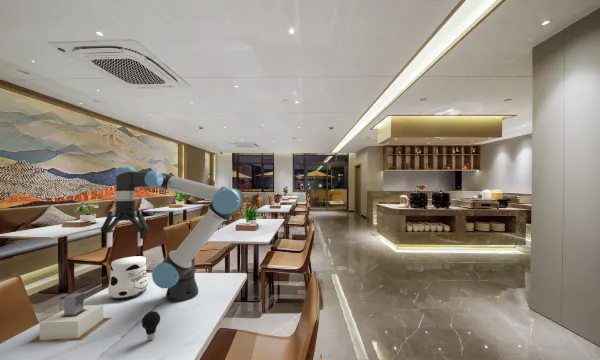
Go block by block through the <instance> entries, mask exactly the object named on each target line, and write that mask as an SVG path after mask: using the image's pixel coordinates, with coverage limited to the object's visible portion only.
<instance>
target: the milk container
mask: <svg viewBox="0 0 600 360" xmlns="http://www.w3.org/2000/svg"><path fill="white" fill-rule="evenodd" d="M148 279H149V278H148V276H147V258H146V257H145V256H142V255H141V256H140V255H139V256H137V255H136V256H127V257H122V258H118V259H115V260H112V261H111V263H110V280H109V284H108V286H107V291H108V292H107V293H108V296H109V297H110V298H111V299H114V300H115V299H116V300H117V299H118V300H120V299H121V300H122V299H127V298H128V299H129V298H133V297H136V296H139V295H141V294H143V293H144V292H146V290H147V289H148V286H149V280H148Z"/></svg>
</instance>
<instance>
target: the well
mask: <svg viewBox="0 0 600 360" xmlns="http://www.w3.org/2000/svg"><path fill="white" fill-rule="evenodd" d="M103 318H104V304H99V305H98V304H94V305H93V304H91V305H90V304H89V305H88V304H87V305H84V310H83V313H81V314H79V315H78V316H76V317H64V309H62V310H60V311H59V312H58V313H56V314H53V315H52V316H50V317H48V318H46V319H45V320H42V321H40V322H39V336H40V338H39V340H48V339H68V338H78V337H80V336H81V335H82V334H84V333H85V332H87V331H88V330H89V329H91V328H92V327H94V326H95V325H96V324H98V323H99V322H100V321H102V320H103Z"/></svg>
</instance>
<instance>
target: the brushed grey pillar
mask: <svg viewBox="0 0 600 360" xmlns="http://www.w3.org/2000/svg"><path fill="white" fill-rule="evenodd" d="M84 294H85V293H84V292H73V293H71V294H69V295H66V296H64V299H63V300H64V301H63V307H64V308H63V310H64V317H76V316H78V315H79V314H81V313H83V310H84V306H85V302H84V301H85V300H84V299H85V297H84Z"/></svg>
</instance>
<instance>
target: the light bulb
mask: <svg viewBox="0 0 600 360" xmlns="http://www.w3.org/2000/svg"><path fill="white" fill-rule="evenodd" d="M160 322H161V315H160V313H159V312H158V311H155V310H152V311H149V312H147V313H146V314H144V316H143V317H142V320H141V326H142V327H143V329H144V330H145V334H146V339H147V340H148V341H152V340H153V339H154V338H155V337H156V330H157V328H158V326H159V324H160Z"/></svg>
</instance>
